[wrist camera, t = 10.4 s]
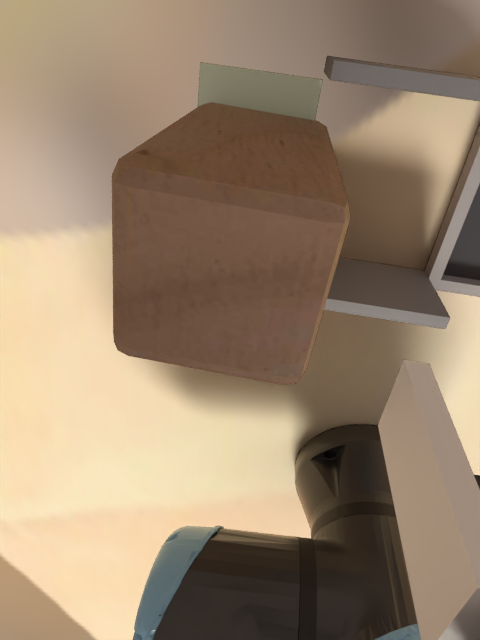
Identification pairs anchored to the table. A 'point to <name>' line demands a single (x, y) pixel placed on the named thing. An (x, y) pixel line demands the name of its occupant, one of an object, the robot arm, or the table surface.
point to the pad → (259, 90)
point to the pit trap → (460, 234)
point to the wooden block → (227, 242)
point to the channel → (380, 279)
